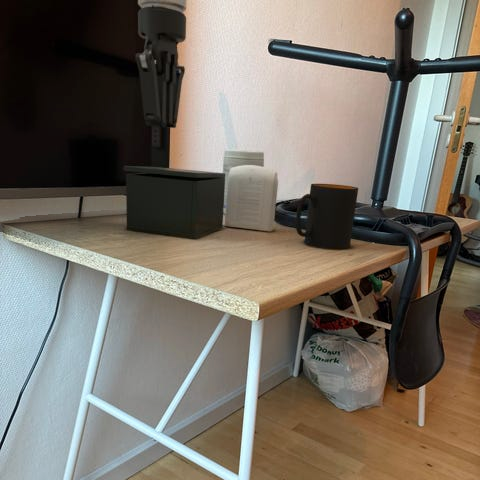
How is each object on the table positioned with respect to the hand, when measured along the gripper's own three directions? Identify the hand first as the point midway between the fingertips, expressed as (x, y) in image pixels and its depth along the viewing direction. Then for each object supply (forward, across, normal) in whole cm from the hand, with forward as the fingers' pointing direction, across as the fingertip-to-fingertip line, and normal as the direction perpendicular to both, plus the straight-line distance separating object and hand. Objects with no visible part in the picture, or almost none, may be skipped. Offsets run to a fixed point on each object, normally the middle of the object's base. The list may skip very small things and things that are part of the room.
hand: (160, 167), depth 85 cm
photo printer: (+12, +16, -12) cm, 23 cm away
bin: (+11, +5, -1) cm, 12 cm away
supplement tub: (+12, +34, -4) cm, 36 cm away
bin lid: (+1, +5, -1) cm, 5 cm away
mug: (+12, +8, -28) cm, 31 cm away
